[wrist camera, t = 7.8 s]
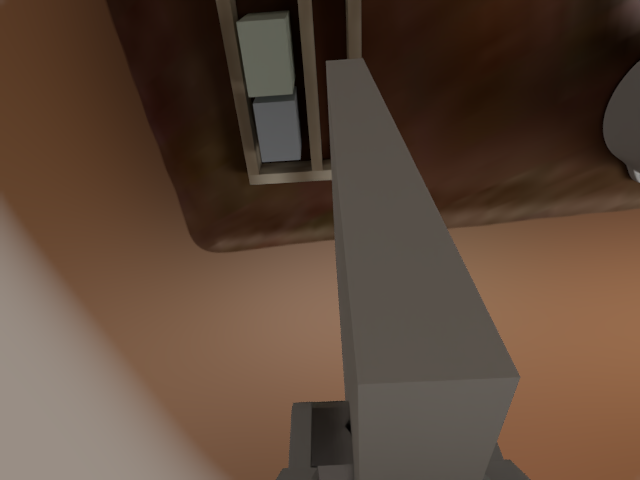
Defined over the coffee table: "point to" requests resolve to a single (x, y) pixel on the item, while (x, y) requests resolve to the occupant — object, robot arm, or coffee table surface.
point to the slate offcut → (278, 127)
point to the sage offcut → (267, 53)
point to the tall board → (406, 306)
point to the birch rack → (243, 103)
